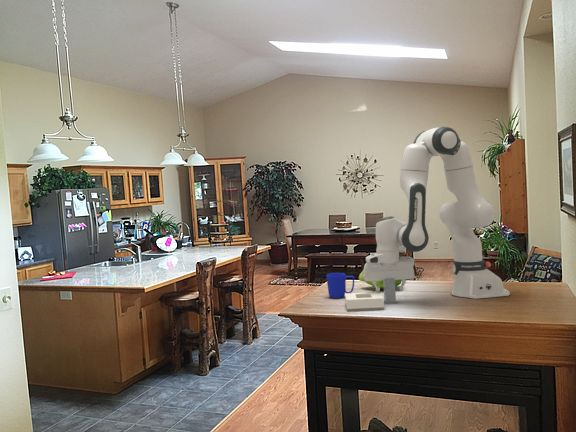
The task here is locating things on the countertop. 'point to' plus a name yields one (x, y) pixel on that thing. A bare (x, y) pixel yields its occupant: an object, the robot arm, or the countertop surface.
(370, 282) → the lettuce
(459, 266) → the robot arm
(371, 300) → the well block
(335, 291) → the mug
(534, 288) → the countertop surface
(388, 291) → the grey brushed prism
